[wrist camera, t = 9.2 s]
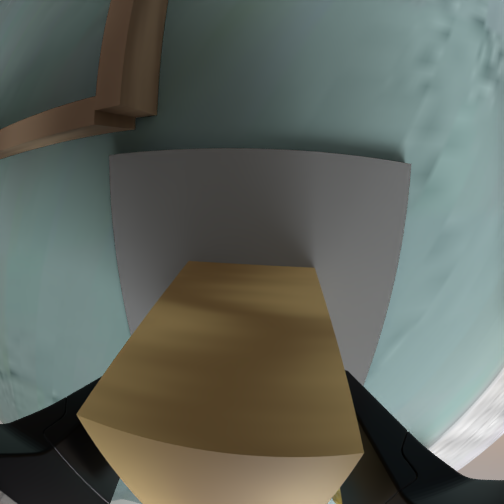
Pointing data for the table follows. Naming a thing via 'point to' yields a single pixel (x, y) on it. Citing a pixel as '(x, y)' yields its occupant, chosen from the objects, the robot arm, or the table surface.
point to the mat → (265, 227)
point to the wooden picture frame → (105, 83)
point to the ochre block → (229, 393)
